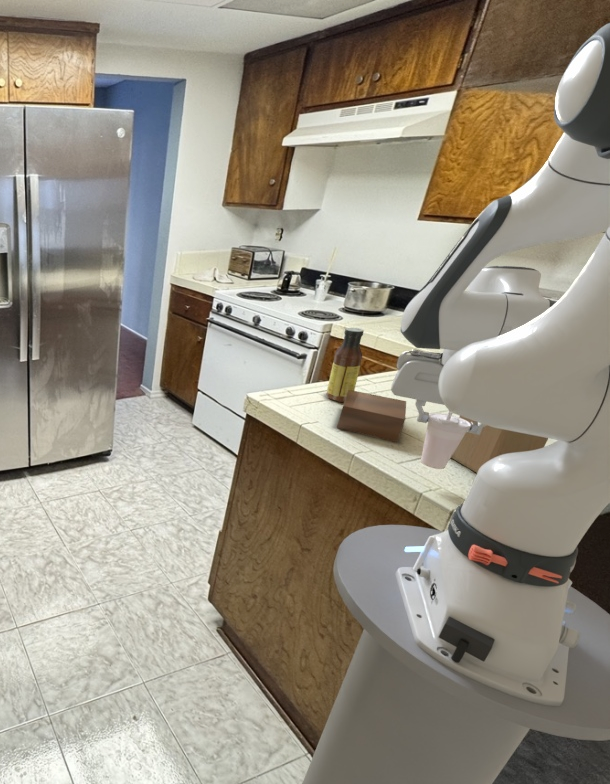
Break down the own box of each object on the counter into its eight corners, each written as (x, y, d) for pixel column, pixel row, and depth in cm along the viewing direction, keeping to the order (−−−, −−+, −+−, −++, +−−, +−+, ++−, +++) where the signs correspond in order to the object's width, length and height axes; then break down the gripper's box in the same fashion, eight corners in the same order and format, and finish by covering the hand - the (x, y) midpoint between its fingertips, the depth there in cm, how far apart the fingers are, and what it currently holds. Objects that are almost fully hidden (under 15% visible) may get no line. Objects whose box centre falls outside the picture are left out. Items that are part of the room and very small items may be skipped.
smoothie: (404, 459, 94) (427, 395, 88) (425, 453, 96) (449, 390, 91) (440, 475, 88) (466, 408, 83) (461, 469, 90) (489, 403, 85)
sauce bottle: (352, 397, 131) (372, 328, 123) (350, 405, 126) (371, 334, 118) (325, 391, 134) (343, 324, 126) (322, 399, 130) (341, 330, 122)
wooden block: (484, 451, 104) (521, 368, 95) (531, 477, 95) (577, 387, 86) (441, 454, 103) (475, 369, 95) (485, 480, 94) (527, 389, 86)
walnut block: (397, 442, 108) (405, 419, 106) (336, 427, 115) (342, 405, 112) (398, 422, 117) (406, 401, 114) (342, 410, 123) (348, 389, 121)
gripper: (401, 351, 87) (379, 418, 93) (558, 375, 76) (523, 449, 81) (402, 343, 92) (381, 407, 97) (550, 364, 80) (517, 435, 86)
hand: (447, 427), depth 89 cm, fingers closed on smoothie, 6 cm apart
